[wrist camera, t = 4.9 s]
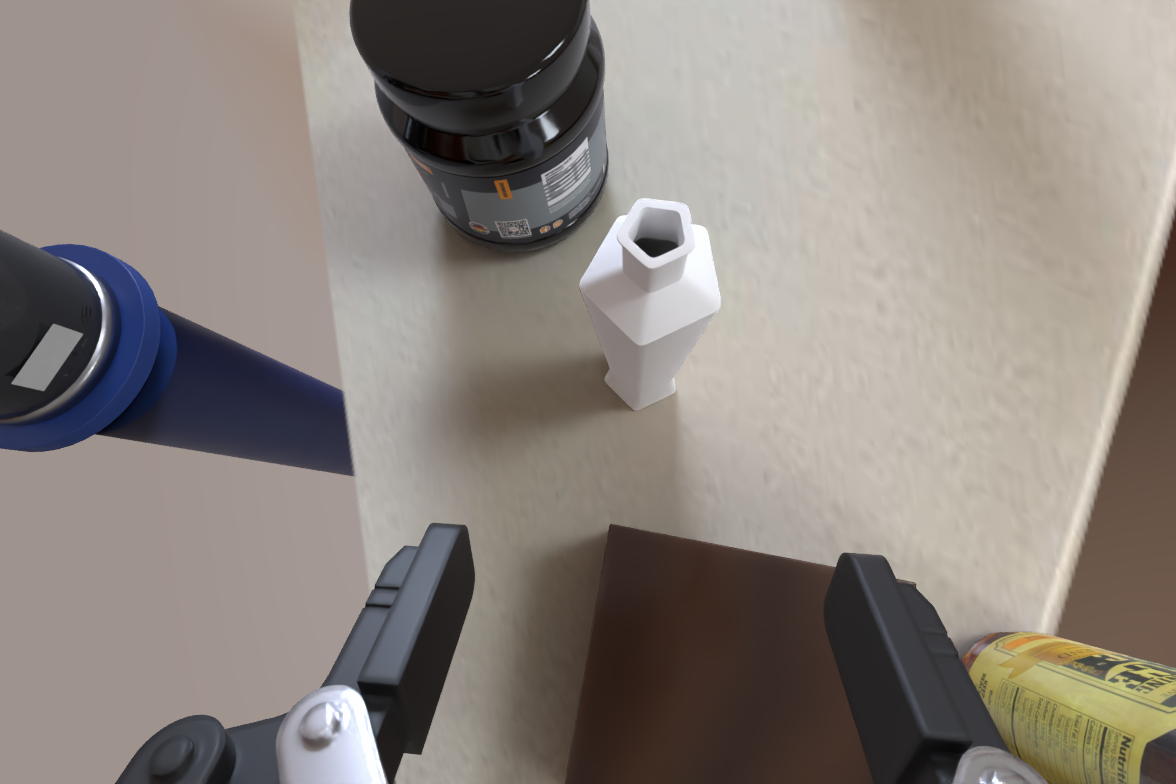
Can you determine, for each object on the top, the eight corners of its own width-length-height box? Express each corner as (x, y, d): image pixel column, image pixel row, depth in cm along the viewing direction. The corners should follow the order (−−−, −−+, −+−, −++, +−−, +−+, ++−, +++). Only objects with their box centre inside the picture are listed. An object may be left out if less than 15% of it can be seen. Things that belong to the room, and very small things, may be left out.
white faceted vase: (591, 410, 29) (558, 299, 15) (606, 333, 30) (588, 157, 15) (677, 425, 29) (730, 325, 14) (689, 346, 30) (751, 177, 15)
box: (565, 794, 25) (551, 860, 20) (612, 523, 28) (609, 523, 23) (842, 863, 24) (898, 952, 19) (863, 571, 26) (917, 583, 22)
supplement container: (460, 97, 34) (374, -120, 23) (624, 115, 33) (623, -104, 22) (418, 247, 32) (299, 91, 20) (592, 272, 31) (572, 122, 19)
